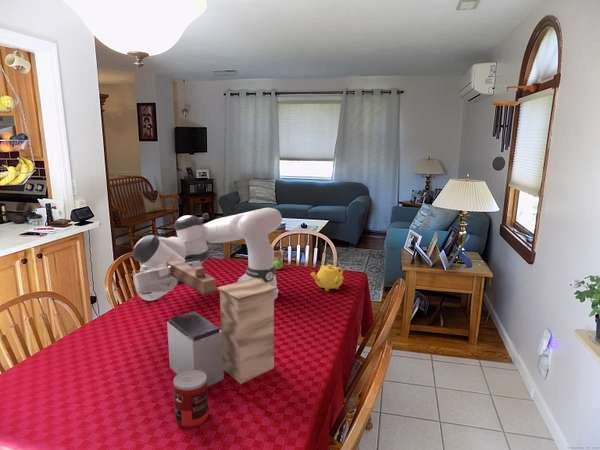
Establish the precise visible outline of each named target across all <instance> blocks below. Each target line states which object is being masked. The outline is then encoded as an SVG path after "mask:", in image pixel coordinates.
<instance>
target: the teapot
mask: <svg viewBox="0 0 600 450" xmlns="http://www.w3.org/2000/svg"><path fill="white" fill-rule="evenodd" d="M343 274H344V269H343V268H342V267H341V266H338V267H336V266H333V264H326V265H321V266H320V267H319V270H318V272H317V273H316V272H315V271H312V272H311V273H310V276H311V277H312V278H313V279H314V281H315V284H316V285H317V286H318V288H323V289H324V291H325V292H330V290H331V289H332V290H333V289H334V290H340V286H341V285H342V284H343V280H344V279H345V276H343Z"/></svg>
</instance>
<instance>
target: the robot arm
mask: <svg viewBox="0 0 600 450" xmlns="http://www.w3.org/2000/svg"><path fill="white" fill-rule="evenodd" d="M203 222H204V220H203V219H200V218H199V217H198V216H196V215H193V214H192V215H188V214H187V215H183V216H180V217H179V218H178V219H176V220H175V222H174V229H175V231H176V236H169V237H164V236H162V235H161V236H159V235H154V234H149V235H145V236H142V238H140V239H139V240H138V241H137V242H136V244H135V245H134V247H133V250H132V256H133V259H134V260H135V261H136V262H138V263H140V264H141V265H145V266H146V267H148V268H149V269H150V270H147V271H144V272H140V271H139V272H138V273H134V274H133V275H132V278H133V284H134V288H135V291H136V294H137V295H138V296H139V297H140V298H141V299H142V300H144V301H148V302H149V301H155V300H158V299H160V298H162V297H164V295H165V294H167V293H169V292H171V291H172V290H174V289H175V288H176V286H177V284H178V283H179V282H181V281H180V280H178V279H176V278H174V277H173V276H171V275H169V274H170V273H172V272H173V269H172V266H169V267H167V262H170V261H175V260H179V261H181V262H183V263H185V264H187V265H189V266H191V267H193V268H197V267H203V265H202V263H204V262H205V261H207V260H208V259H209V258H210V249H209V247H208V244H207V243H210V244H211V243H215V244H217V243H228V242H233V241H239V240H243V239H244V241H245V243H246V247H247V256H248V260H247V261H248V262H247V263H248V264H247V265H245V269H246V272H245V273H244V274H243V275H242V276H240V277H239V278H238V280H237V281H236V282H240V281H244V280H247V279H251V278H256V279H258V280H260V281H263V282H265V283H267V284H269V285H272V286H274V287H276V290H274V301H275V300H276V299H277V298H278V296H279V295H278V294H279V291H280V290H279V289H278V286H277V285H278V283H277V276H276V269H275V265H274V261H275V259H274V251H275V249H274V247H273V246H272V245H271V243H270V239H269V234H271V233H273V232H275V231H276V230H277V229H278V228H279V227H280V226H281V224H282V222H283V217H282V214H281V212H280V211H279V209H276V208H273V207H263V208H259V209H255V210H254V209H253V210H250V211H246V212H242V213H237V214H233V215H227V216H224V217H218V218H215V219H213V220H210V221H208V222H206V223H203Z"/></svg>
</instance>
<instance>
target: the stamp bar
mask: <svg viewBox="0 0 600 450" xmlns="http://www.w3.org/2000/svg"><path fill="white" fill-rule="evenodd" d="M169 266H172V269H173V272H172V273H170V274H169V275H171V276H173V277H174V278H176V279H178V280H180V281H179V282H181V283H182V284H183V283H184V284H185V285H187V286H188V287H189V288H192V289H193V290H195V291H197V292H198V293H200V294H201V295H209V294H212V293H215V292H217V281H216V280H217V279H216V278H214V277H213V276H211V275H209V274H207V273H205V272H206V270H205V267H203V266H202V267H197V268H193V267H191V266H189V265H187V264H185V263H183V262H181V261H179V260H175V261H170V262H167V267H169Z"/></svg>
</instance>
